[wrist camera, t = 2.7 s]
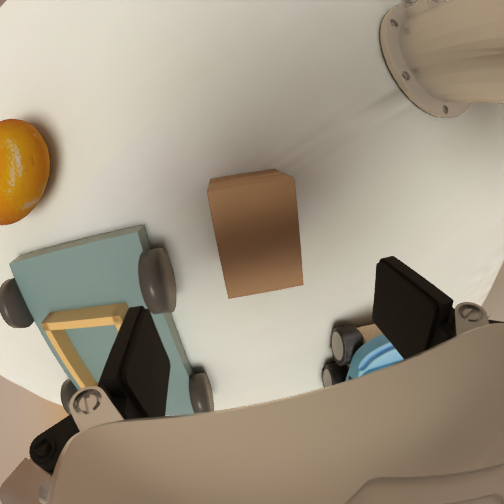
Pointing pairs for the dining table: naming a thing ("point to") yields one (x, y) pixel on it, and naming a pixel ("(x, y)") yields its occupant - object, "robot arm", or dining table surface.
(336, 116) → the dining table surface
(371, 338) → the toy excavator
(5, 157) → the fruit
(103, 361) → the chassis
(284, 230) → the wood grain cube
